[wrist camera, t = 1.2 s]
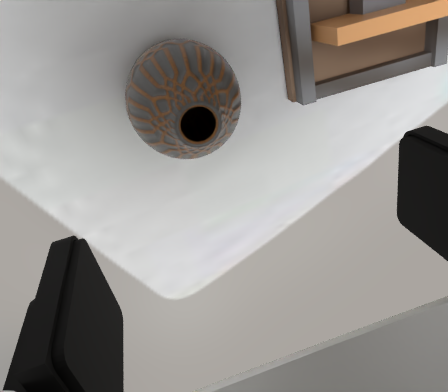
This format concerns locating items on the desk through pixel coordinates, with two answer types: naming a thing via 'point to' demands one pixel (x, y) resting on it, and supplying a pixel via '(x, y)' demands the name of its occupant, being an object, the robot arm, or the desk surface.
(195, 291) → the desk surface
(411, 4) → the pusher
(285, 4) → the tray
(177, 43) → the vase
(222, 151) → the desk surface
